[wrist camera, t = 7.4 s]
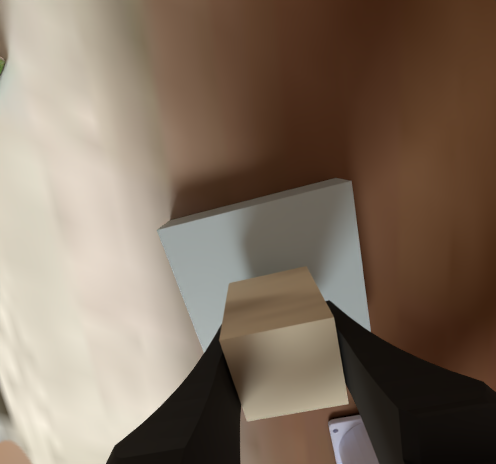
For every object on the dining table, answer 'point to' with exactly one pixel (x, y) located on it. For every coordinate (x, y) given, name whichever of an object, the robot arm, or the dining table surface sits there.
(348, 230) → the grey-blue block
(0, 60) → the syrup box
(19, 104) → the dining table surface
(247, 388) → the birch cube
